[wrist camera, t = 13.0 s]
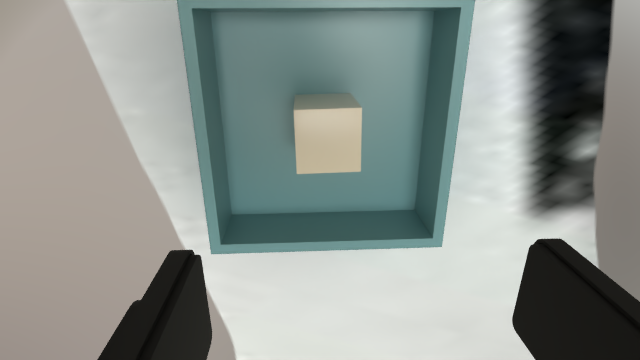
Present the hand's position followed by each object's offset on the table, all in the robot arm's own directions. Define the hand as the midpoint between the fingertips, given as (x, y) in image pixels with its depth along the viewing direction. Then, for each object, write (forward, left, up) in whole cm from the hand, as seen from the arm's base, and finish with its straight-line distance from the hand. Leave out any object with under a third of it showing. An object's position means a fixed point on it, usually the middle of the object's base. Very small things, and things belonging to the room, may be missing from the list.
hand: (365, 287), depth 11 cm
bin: (0, 0, -22) cm, 22 cm away
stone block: (0, 0, -21) cm, 21 cm away
